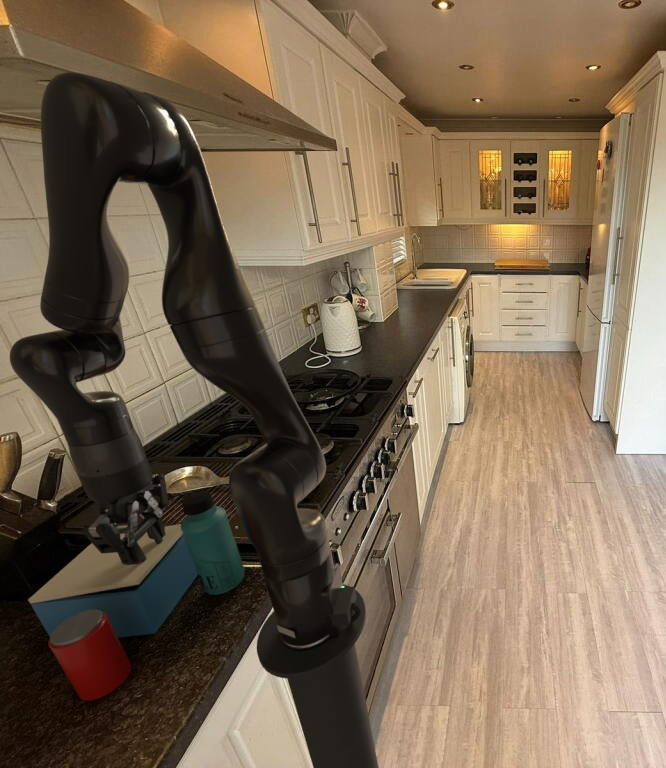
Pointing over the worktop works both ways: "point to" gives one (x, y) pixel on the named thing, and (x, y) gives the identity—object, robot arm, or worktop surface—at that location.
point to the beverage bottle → (211, 544)
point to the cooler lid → (109, 565)
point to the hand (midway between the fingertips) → (146, 549)
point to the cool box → (131, 597)
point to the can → (90, 654)
